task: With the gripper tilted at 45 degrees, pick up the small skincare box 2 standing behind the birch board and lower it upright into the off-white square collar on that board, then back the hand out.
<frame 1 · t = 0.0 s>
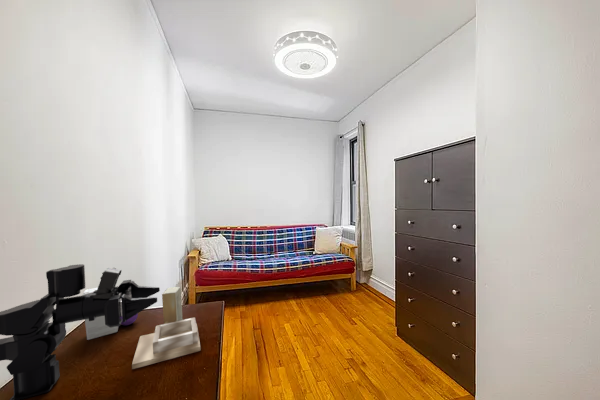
hand: (158, 294, 71), 17 cm above the table, tool horizontal, fingers open, 9 cm apart
collar holder: (176, 343, 77), on the table
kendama: (118, 320, 95), on the table, touching skincare box
skincare box: (102, 333, 86), on the table, touching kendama
skincare box 2: (173, 326, 88), on the table
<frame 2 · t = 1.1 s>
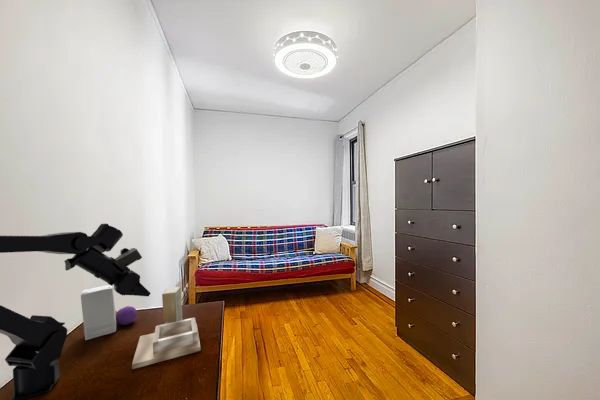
hand: (145, 291, 82), 14 cm above the table, tool tilted 45°, fingers open, 9 cm apart
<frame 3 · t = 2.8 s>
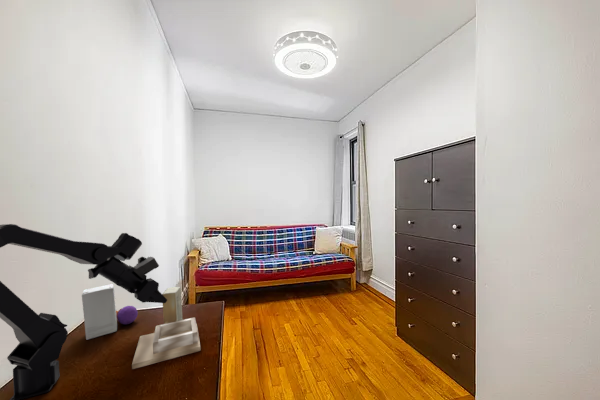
hand: (161, 298, 86), 10 cm above the table, tool tilted 45°, fingers open, 9 cm apart
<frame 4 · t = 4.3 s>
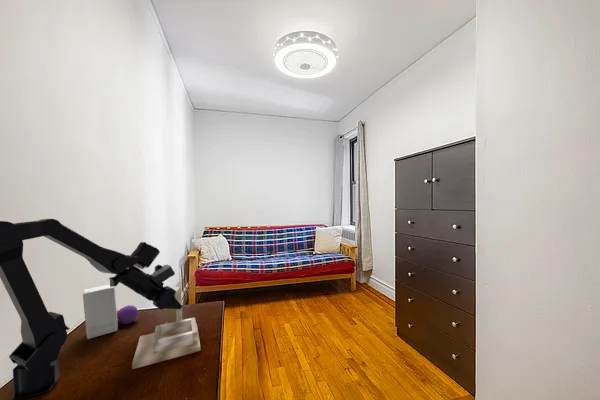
hand: (176, 304, 89), 7 cm above the table, tool tilted 45°, fingers closed on skincare box 2, 7 cm apart
skincare box 2: (173, 326, 88), on the table, touching gripper
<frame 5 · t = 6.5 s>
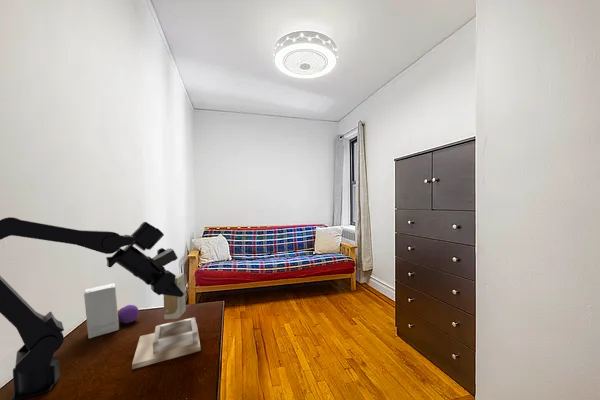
hand: (179, 292, 82), 13 cm above the table, tool tilted 45°, fingers closed on skincare box 2, 7 cm apart
skincare box 2: (175, 315, 81), point 6 cm above the table, touching gripper
when the fingers open (9 cm above the table, at t = 8.7 s): skincare box 2 drops 1 cm, resting on collar holder.
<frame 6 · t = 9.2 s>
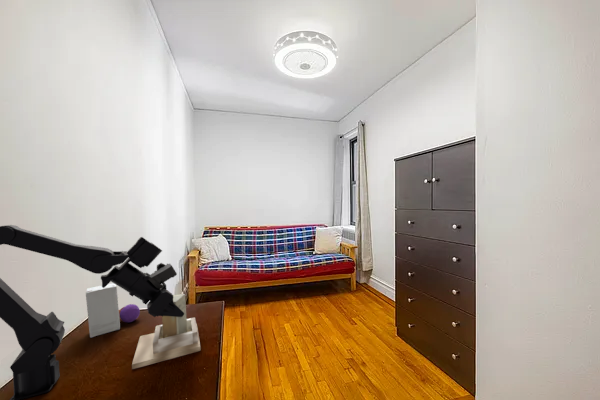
hand: (180, 310, 77), 9 cm above the table, tool tilted 45°, fingers open, 9 cm apart
skincare box 2: (175, 340, 76), point 1 cm above the table, touching collar holder
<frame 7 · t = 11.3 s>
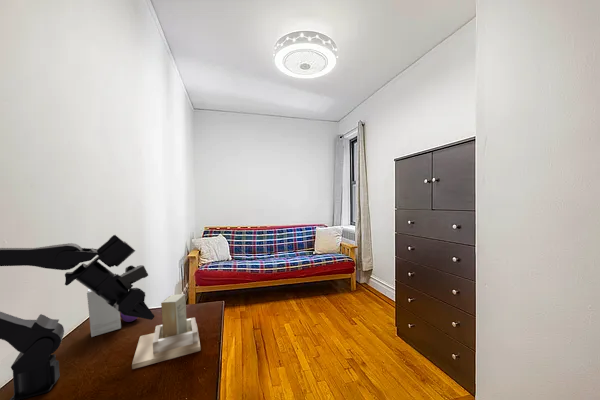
hand: (148, 315, 73), 10 cm above the table, tool tilted 40°, fingers open, 9 cm apart
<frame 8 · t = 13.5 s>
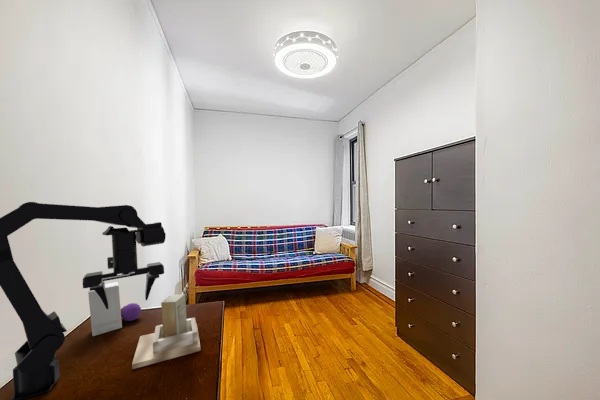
hand: (127, 304, 74), 13 cm above the table, tool pointing down, fingers open, 9 cm apart
at the end: skincare box 2 0.3 cm off-centre on the collar holder, point 1.0 cm above the collar holder's base; skincare box 2 tilted 0°; the gripper is holding nothing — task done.
